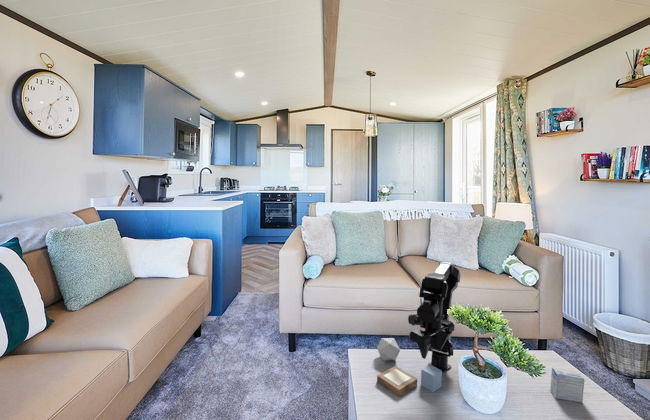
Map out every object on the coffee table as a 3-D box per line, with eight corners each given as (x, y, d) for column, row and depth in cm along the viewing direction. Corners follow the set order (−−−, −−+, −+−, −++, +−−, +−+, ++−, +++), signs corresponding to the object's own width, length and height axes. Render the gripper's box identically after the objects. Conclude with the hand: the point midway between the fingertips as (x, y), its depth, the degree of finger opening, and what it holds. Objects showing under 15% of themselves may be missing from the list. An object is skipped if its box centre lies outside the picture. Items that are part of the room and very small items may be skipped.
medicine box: (576, 395, 108) (578, 371, 107) (582, 403, 104) (585, 378, 103) (549, 390, 110) (551, 367, 110) (555, 398, 106) (556, 374, 105)
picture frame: (395, 372, 120) (395, 365, 120) (417, 385, 112) (417, 378, 112) (377, 381, 114) (377, 375, 114) (398, 396, 106) (399, 389, 106)
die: (394, 369, 123) (406, 345, 126) (374, 356, 125) (386, 333, 127) (389, 364, 132) (401, 342, 134) (371, 352, 133) (382, 331, 135)
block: (429, 379, 116) (429, 364, 115) (441, 386, 112) (442, 370, 111) (420, 384, 113) (421, 369, 112) (433, 392, 109) (433, 375, 108)
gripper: (429, 298, 122) (428, 336, 123) (397, 310, 111) (396, 352, 112) (456, 307, 113) (454, 349, 115) (424, 321, 102) (422, 367, 103)
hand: (431, 353), depth 111 cm, fingers open, 9 cm apart
